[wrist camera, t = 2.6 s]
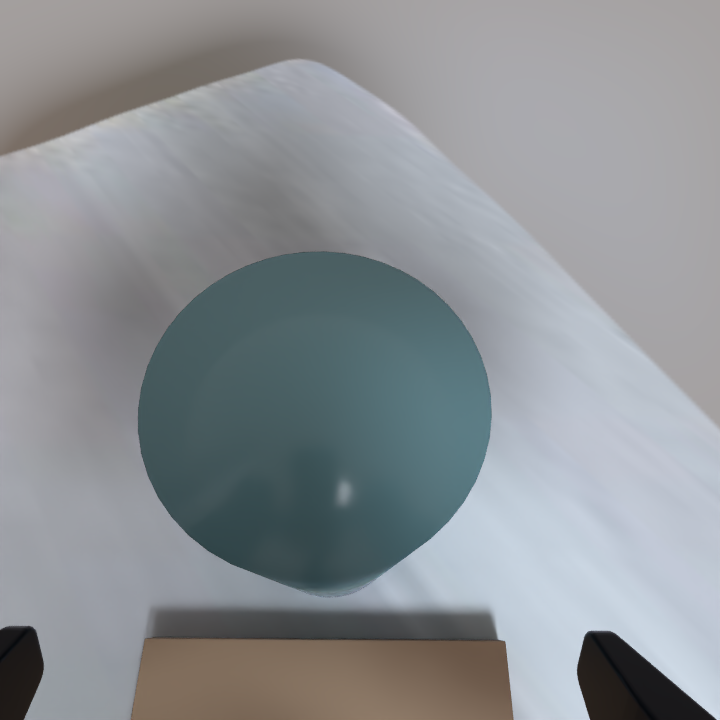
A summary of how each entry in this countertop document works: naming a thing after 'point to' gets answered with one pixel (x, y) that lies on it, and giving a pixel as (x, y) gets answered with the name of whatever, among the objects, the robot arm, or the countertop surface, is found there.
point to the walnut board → (322, 679)
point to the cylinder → (315, 419)
